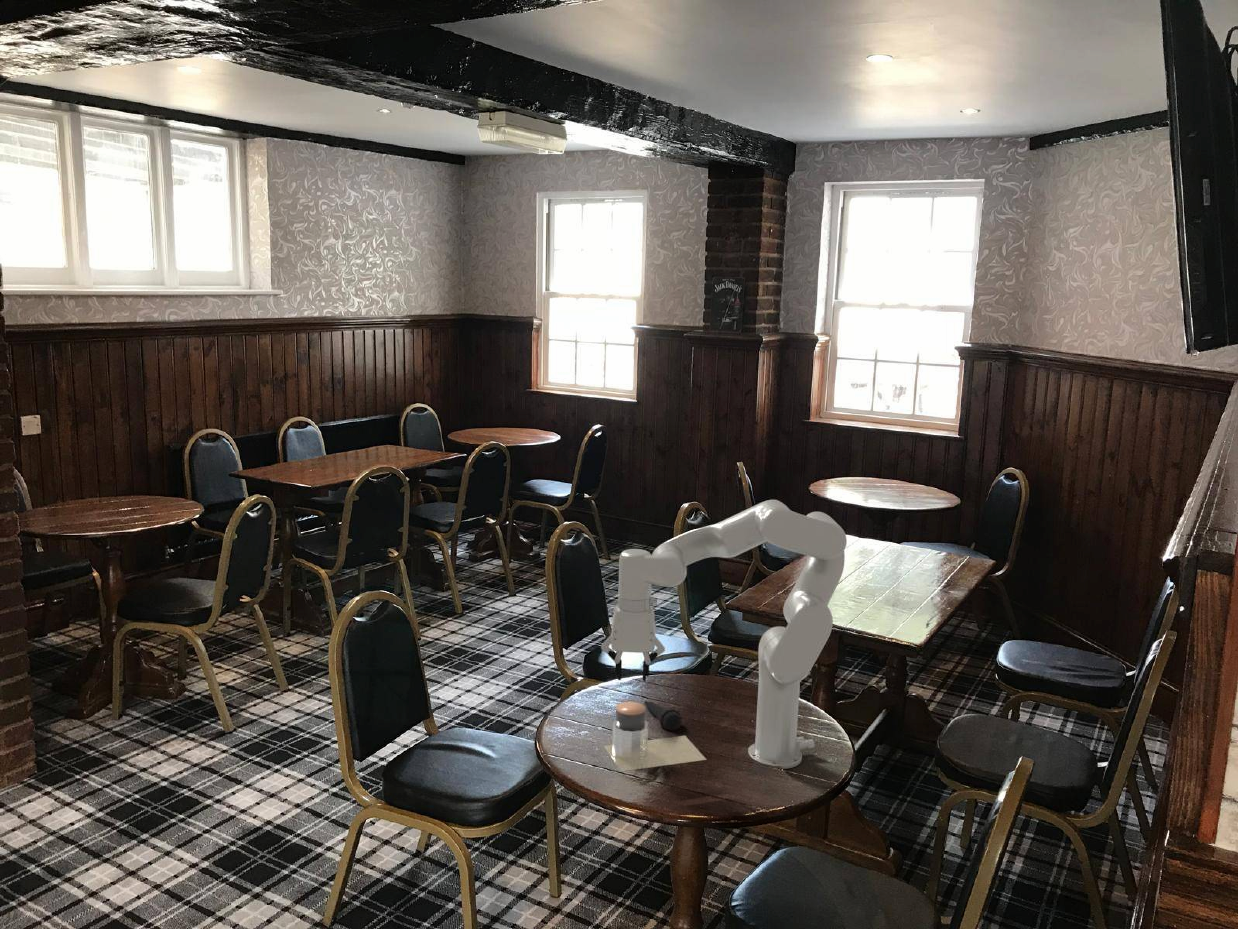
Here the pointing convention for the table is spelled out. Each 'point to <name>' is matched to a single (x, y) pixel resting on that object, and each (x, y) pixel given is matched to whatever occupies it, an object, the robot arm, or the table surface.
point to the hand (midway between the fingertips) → (632, 677)
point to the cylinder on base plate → (649, 749)
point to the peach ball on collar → (630, 715)
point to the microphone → (665, 716)
